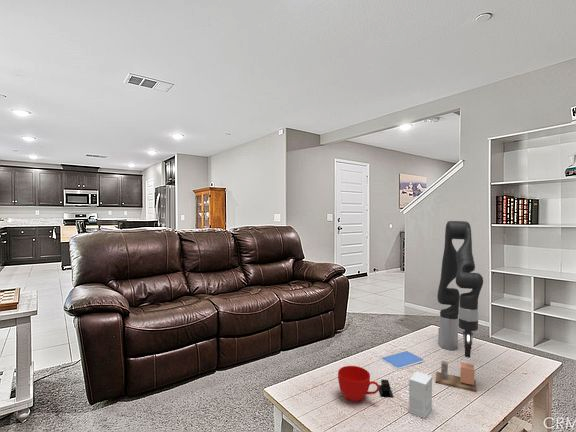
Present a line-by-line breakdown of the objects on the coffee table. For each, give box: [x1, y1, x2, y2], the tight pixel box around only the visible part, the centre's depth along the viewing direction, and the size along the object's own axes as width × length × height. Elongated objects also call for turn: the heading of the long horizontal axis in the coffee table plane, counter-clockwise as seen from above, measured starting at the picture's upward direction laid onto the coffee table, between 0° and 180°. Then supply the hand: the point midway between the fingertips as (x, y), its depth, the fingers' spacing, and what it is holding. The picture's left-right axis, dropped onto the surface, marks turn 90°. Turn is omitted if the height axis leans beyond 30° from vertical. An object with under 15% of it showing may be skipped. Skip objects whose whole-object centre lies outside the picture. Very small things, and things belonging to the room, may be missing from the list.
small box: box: [408, 371, 433, 419], centre depth 126 cm, size 8×6×13 cm
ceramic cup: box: [337, 365, 380, 403], centre depth 134 cm, size 13×17×10 cm
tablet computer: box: [380, 350, 426, 371], centre depth 168 cm, size 19×13×1 cm, turn 117°
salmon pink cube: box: [459, 362, 475, 385], centre depth 144 cm, size 5×5×7 cm
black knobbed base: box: [378, 379, 395, 399], centre depth 139 cm, size 12×7×5 cm, turn 173°
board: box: [434, 360, 478, 393], centre depth 146 cm, size 16×9×8 cm, turn 63°
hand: (467, 356), depth 144 cm, fingers closed
